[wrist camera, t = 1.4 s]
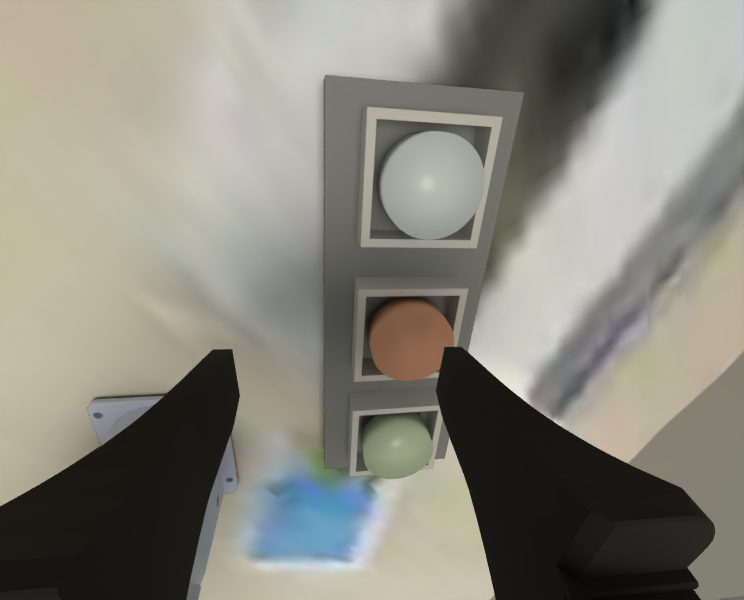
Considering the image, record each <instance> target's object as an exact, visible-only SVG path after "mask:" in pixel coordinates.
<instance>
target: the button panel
mask: <svg viewBox="0 0 744 600" xmlns="http://www.w3.org/2000/svg"><path fill="white" fill-rule="evenodd" d="M523 95H524V93H522V92H511V91H500V90H488V89H477V88H466V87H454V86H443V85H431V84H420V83H409V82H397V81H386V80H375V79H363V78H352V77H341V76H329V75H325V78H324V462H325V469H333V468H344V467H349V475H350V476H361V475H371V474H372V473H371V472H370V471H369V470H368V469H367V468H366V466H365V462H364V456H363V450H362V443H361V434H362V431H363V429H364V427H365V426H366V424H367V423H368V422H369V421H370V420H371V419H373V418H374V417H376V416H377V415H379V414H392V413H407V412H414V413H416V414H418V415H419V416H420V417H421V418H422V419H423V420H424V422H425V424H426V427H427V430H428V432H429V435H430V438H431V440H432V443H433V454H432V457H431V459H430V460H429V462H428V463H427V464H426V465H425V466H424V467H423V468H422V469H421V470H424V469H433V465H434V460H435V459H443V458H445V454H446V450H447V445H448V441H449V434H448V432H447V429H446V426H445V424H444V421H443V418H442V415H441V411H440V407H439V403H438V398H437V394H436V386H437V382H438V377H439V372H440V369H439V370H438V371H436V372H435V373H433V374H431V375H430V376H427V377H425V378H422V379H419V380H414V381H399V380H395V379H392V378H390V377H388V376H386V375H384V374H383V373H382V372H381V371H380V370H379V369H378V368H377V367H376V365H375V363H374V360H373V357H372V353H371V349H370V345H369V341H368V327H369V324H370V322H371V319H372V318H373V316H374V315H375V313H376V312H377V311H378V310H379V309H380V308H381V307H382V306H384V305H385V304H387V303H388V302H390V301H392V300H395V299H397V298H401V297H407V296H416V297H421V298H424V299H427V300H429V301H431V302H432V303H434V304H435V305H436V306H437V307H438V309H439V310H440V311H441V313H442V314H443V316H444V317H445V319H446V320H447V322H448V323H449V325H450V326H451V328H452V331H453V334H454V347H462V348H463V349H465V350H466V351H467V352H468V348H469V344H470V339H471V335H472V330H473V325H474V321H475V316H476V311H477V307H478V302H479V298H480V293H481V288H482V284H483V279H484V275H485V270H486V265H487V261H488V256H489V252H490V247H491V242H492V238H493V233H494V228H495V224H496V219H497V215H498V210H499V205H500V201H501V196H502V192H503V187H504V182H505V178H506V173H507V169H508V164H509V159H510V155H511V150H512V146H513V141H514V136H515V132H516V127H517V122H518V118H519V113H520V109H521V104H522V99H523ZM419 131H441V132H449V133H453V134H456V135H458V136H460V137H462V138H464V139H465V140H466V141H468V142H469V143H470V144H471V145H472V146H473V147H474V149H475V150H476V151H477V153H478V155H479V156H480V159H481V161H482V164H483V168H484V174H485V186H484V192H483V196H482V199H481V202H480V205H479V207H478V209H477V210H476V212H475V214H474V215H473V217H472V218H471V219H470V220H469V221H468V222H467V223H466V224H465V225H464V226H463V227H462V228H461V229H459V230H458V231H456V232H455V233H453V234H451V235H449V236H447V237H443V238H440V239H434V240H424V239H418V238H415V237H412V236H410V235H408V234H406V233H404V232H403V231H402V230H400V229H399V228H398V227H397V226H396V225H395V223H394V222H393V221H392V220H391V219H390V217H389V216H388V215H387V213H386V212H385V211H384V209H383V207H382V205H381V202H380V200H379V196H378V189H377V181H378V174H379V170H380V167H381V164H382V161H383V160H384V158H385V156H386V154H387V153H388V152H389V150H390V149H391V148H392V147H393V146H394V145H395V144H396V143H397V142H398V141H399V140H401V139H402V138H404V137H405V136H407V135H410V134H412V133H415V132H419Z"/></svg>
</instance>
